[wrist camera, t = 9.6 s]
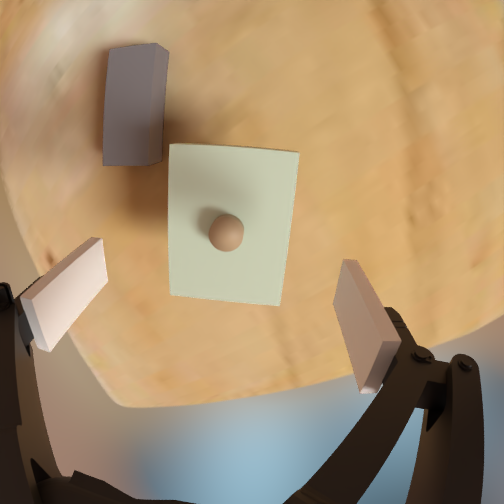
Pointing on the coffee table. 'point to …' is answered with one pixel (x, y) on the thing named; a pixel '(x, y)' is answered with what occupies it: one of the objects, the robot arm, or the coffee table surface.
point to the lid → (229, 221)
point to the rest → (134, 105)
